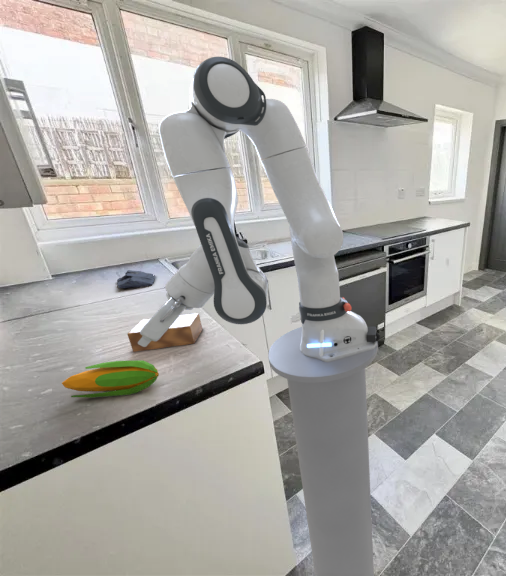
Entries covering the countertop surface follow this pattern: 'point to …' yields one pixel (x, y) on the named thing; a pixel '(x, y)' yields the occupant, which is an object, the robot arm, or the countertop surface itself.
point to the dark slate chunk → (135, 279)
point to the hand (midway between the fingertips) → (151, 334)
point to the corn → (113, 378)
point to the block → (169, 333)
